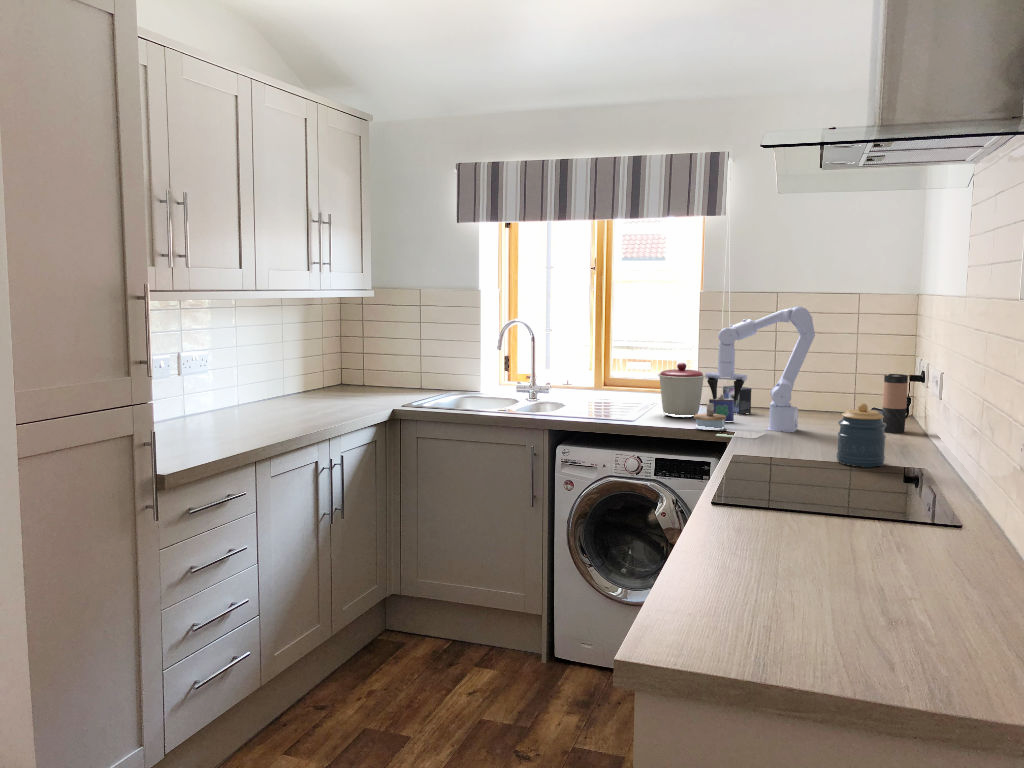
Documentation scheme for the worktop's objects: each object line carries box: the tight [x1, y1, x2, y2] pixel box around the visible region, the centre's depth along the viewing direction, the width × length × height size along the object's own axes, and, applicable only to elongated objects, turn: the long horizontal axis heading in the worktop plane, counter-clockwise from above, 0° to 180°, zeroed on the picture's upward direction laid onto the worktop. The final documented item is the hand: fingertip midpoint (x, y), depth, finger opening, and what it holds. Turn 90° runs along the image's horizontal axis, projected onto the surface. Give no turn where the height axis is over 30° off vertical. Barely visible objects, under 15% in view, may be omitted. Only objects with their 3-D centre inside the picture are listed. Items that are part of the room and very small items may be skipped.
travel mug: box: [881, 373, 909, 434], centre depth 301 cm, size 8×8×20 cm
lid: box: [693, 402, 726, 421], centre depth 308 cm, size 11×11×5 cm
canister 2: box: [836, 402, 887, 468], centre depth 250 cm, size 13×13×18 cm
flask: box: [708, 393, 735, 421], centre depth 322 cm, size 9×3×11 cm, turn 87°
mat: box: [715, 433, 734, 438], centre depth 297 cm, size 14×14×1 cm
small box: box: [722, 384, 752, 415], centre depth 345 cm, size 11×6×10 cm, turn 25°
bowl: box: [695, 419, 726, 428], centre depth 309 cm, size 10×10×4 cm
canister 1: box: [657, 362, 705, 415], centre depth 336 cm, size 18×18×21 cm
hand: (725, 399), depth 309 cm, fingers open, 7 cm apart
